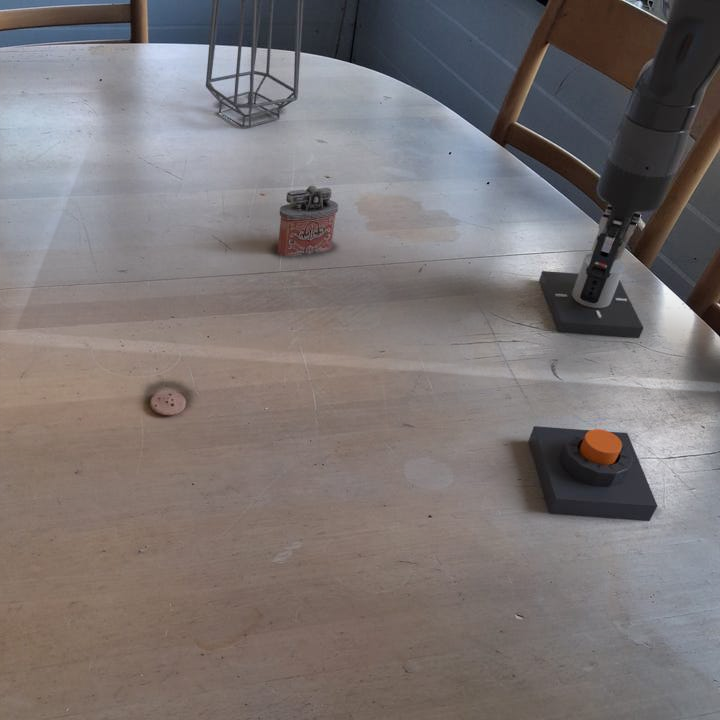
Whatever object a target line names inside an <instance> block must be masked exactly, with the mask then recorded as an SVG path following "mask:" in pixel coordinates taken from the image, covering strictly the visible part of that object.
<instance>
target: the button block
mask: <svg viewBox="0 0 720 720" xmlns="http://www.w3.org/2000/svg"><path fill="white" fill-rule="evenodd" d="M590 430H591V429H577V428H567V427H566V428H564V427H550V426H536V425H534V426H533V427H532V430H531V434H530V436H529V438H528V445H529V450H530V452H531V456H532V459H533V462H534V466H535V469H536V473H537V477H538V480H539V484H540V487H541V491H542V494H543V497H544V501H545V504H546V508H547V511H548V514H549V515H556V516H558V515H559V516H560V515H561V516H572V517H584V518H585V517H587V518H598V519H599V518H601V519H613V520H628V521H640V522H641V521H642V522H650V521H651V519H652V517H653V515H654V514H655V512H656V510H657V508H658V504H657V500H656V498H655V496H654V494H653V491H652V489H651V486H650V484H649V481H648V480H647V476H646V474H645V472H644V469H643V467H642V465H641V463H640V460H639V458H638V455H637V453H636V450H635V448H634V446H633V443H632V441H631V438H630V436H629V434H628V433H629V432H619V431H610V432H611V433H613V434H614V435H616V436H617V437H618V438H619V439H620V441H621V443H622V448H621V450H620V452H619V454H618V457H617V459H616V461H615V462H614V463H613V464H611V465H598V464H596V463H593V462H591V461H589V460H587V459H586V458H584V457H583V456H582V455H581V453H580V446H581V444H582V442H583V439H584V437H585V434H586V433H587V432H588V431H590Z"/></svg>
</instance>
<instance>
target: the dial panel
mask: <svg viewBox="0 0 720 720" xmlns="http://www.w3.org/2000/svg"><path fill="white" fill-rule="evenodd" d="M578 275H579V273H574V272H561V271H551V270H550V271H549V270H547V271H546V270H542V271H541V274H540V277H539V279H538V283H539V285H540V288H541V291H542V293H543V296H544V299H545V301H546V305H547V307H548V309H549V311H550V315H551V317H552V320H553V323H554V325H555V328H556V331H557V333H559V334H561V333H562V334H574V335H590V336H601V337H602V336H603V337H617V338H629V339H640V337H641V335H642V333H643V330H644V326H643V324H642V322H641V320H640V318H639V316H638V314H637V311H636V310H635V307H634V306H633V304H632V302H631V299H630V297H629V296H628V293H627V292H626V290H625V288H624V285H623V284H622V282H621V279H620V280H619V283H618V285H617V288H616V290H615V293H614V295H613V298H612V301H611V303H610V305H609V306H607V307H604V308H592V307H587V306H584V305H582V304H580V303H578V302H577V301H576V300H575V299H574V298H573V296H572V291H573V289H574V286H575V283H576V280H577V277H578Z"/></svg>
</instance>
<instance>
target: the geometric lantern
mask: <svg viewBox="0 0 720 720" xmlns="http://www.w3.org/2000/svg"><path fill="white" fill-rule="evenodd" d="M262 4H263V0H258V3H257V0H252V15H251V16H252V18H251V19H252V20H251V47H250V48H251V49H250V50H251V51H250V70H249V71H243V72H240V71H241V61H242V60H241V59H242V47H243V36H244V24H245V23H244V22H245V11H246V0H241V10H240V22H239V33H238V46H237V58H236V69H235V73H234V74H228V75H225V76H219V77H213V78H212V76H213V67H214V61H215V60H214V59H215V52H216V51H215V49H216V42H217V32H218V25H219V15H220V5H221V0H212V9H211V17H210V18H211V19H210V30H209V45H208V55H207V66H206V79H205V88H206V89H207V90H208V91H209V92H210V93H211V95H213V97H214V98H215V99H216V100H217V101H218V104H219V106H218V108H219V109H218V111H219V113H221V114H222V112H221V110H222V109H223V106H224V107H227V108H230V109H231V110H232V111H234V112H235V113H236V114H238V115H240V116H242V123H240V122H238V121H236V120H234V119H232V118H231V117H229V116H227V115H225V114H223V116H225V117H227V118H228V119H230V120H232V121H233V122H235V123H236V124H235V123H234V124H235V125H237V124H238V125H237V126H239V127H241V128H242V127H245V128H253V127H255V126H260V125H263V124H267V123H270V122H271V123H272V122H275V121H277V120H280V119H281V109H283V108H285V107H286V106H288V105H290V104H291V103H293V102H294V101H297V100H298V97H299V83H300V65H301V47H302V46H301V45H302V31H303V14H304V0H295V29H294V30H295V34H294V64H293V65H294V69H293V70H294V72H293V87H292V86H291V85H288V84H287V83H285V82H284V81H281V80H280V79H278V78H277V77H275V76H274V75H271V73H270V69H271V67H270V66H271V65H270V64H271V51H272V49H271V48H272V32H273V31H272V30H273V15H274V0H269V15H268V16H269V17H268V34H267V36H268V37H267V52H266V54H267V55H266V67H265V68H266V70H265V72H262V71H258V70H255V68H256V67H255V66H256V58H257V49H258V40H259V32H260V23H261V22H260V21H261V14H262ZM255 75H257V76H261V77H263V78H262V79H261V81H260V82H259V84H258V86H257V88H256V90H255V91H254V87H255V86H254V83H255V81H254V80H255ZM245 76H249V90H248V91H245V92H241V93H239V82H240V77H245ZM234 78H235V80H234V92H233V93H234V94H233V95H230V96H226V95H224V94H223V93H221V92H220V91H218V90H217V89H216V88H215V86H213V84H212V83H214V82H219V81H224V80H229V79H234ZM266 78H269V79H270V80H272V81H274V82H275V83H277V84H279V85H280V86H282V87H284V88H286V89H287V90H289V91H291V92H292V93H291V94H290V95H288V96H287V97H286V98H282V99H275V100H272V99H270V98H268V97H267V96H265V95H262V94H260V93H259V91H260V89H261V87H262V85H263V83H264V82H265V80H266ZM245 95H247V97H248V98H247V102H246V103H238V98H239V97H242V96H245ZM257 97H260V98H261V99H263V100H265V101H264V102H258V103H257ZM232 99H233V100H232ZM229 104H230V105H229ZM271 105H276V107H274V108H270V109H268V108H266V106H271ZM233 107H235V109H234V108H233ZM241 108H242V109H248V114H245V113H244V112H243V111H242V110H241ZM254 108H255V109H256V108H260V109H262V111H257V112H254V113H252V109H254ZM275 111H277V112H275ZM219 113H218V114H219ZM266 113H270V114H271V115H274V116H275V117H273V118H270V119H265V120H263V121H259V122H255V123H252V119H253V116H258V115H262V114H266ZM246 118H248V124H246ZM228 119H227V120H228ZM230 120H229V121H230ZM233 122H232V123H233Z"/></svg>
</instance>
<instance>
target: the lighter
mask: <svg viewBox="0 0 720 720" xmlns="http://www.w3.org/2000/svg"><path fill="white" fill-rule="evenodd" d="M332 191H333V190H332V189H331V187H321V188H317V186H315V185H310V186H308V187H307V189H296V190H289V191H288V192H286V200H285V201H286V203H287V204H284V205H281V206H280V208H279V216H280V221H279V230H278V231H279V232H278V242H277V253H278V254H280V255H281V256H285V257H286V256H287V257H290V256H303V255H311V254H316V253H321V252H324V251H328V250H331V248H332V245H333V244H332V242H333V236H334V228H335V221H336V216H337V215H336V214H337V213H338V211H339V204H338V202H336V201H334V200H331V198H332V193H333V192H332Z"/></svg>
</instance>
